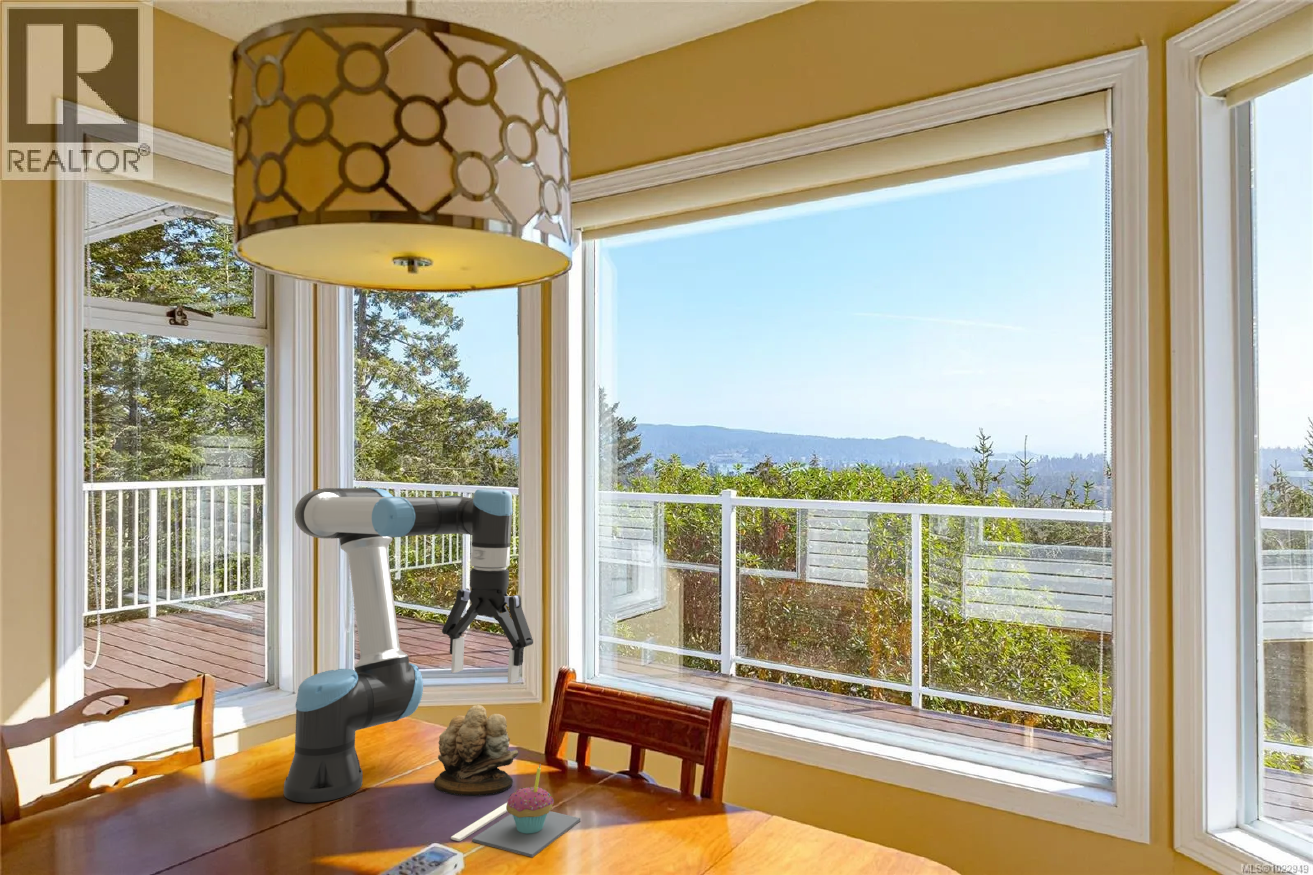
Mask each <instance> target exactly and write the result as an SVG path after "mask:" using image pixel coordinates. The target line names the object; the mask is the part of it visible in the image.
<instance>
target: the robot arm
mask: <svg viewBox="0 0 1313 875" xmlns="http://www.w3.org/2000/svg"><path fill="white" fill-rule="evenodd" d="M513 512H514V510H513V494H512V492H511V491H510V490H508V489H507V490H506V489H494V488H492V489H491V488H490V489H489V488H488V489H487V488H484V489H483V488H479V489H477V490H475V491H474V496H473V497H466V496H461V495H447V496H393V494H392V493H390V492H389V491H388V490H386V489H384V488H373V487H363V488H361V487H358V488H357V487H356V488H355V487H354V488H353V487H349V488H345V487H344V488H343V487H342V488H340V487H339V488H338V487H337V488H336V487H324V488H319V489H315V490H312V491H309V492H308V493H306V494H305V495H303V496H302V497H301V498H300V500H299V501H298V502H297V504H296V506H295V509H294V520H295V523H296V525H297V527H298V528H299V529H300V531H302V532H303V533H304V534H306V535H308V536H311V537H312V538H317V539H339V546H340V547H339V548H340V549H341V550H342V551H344V552H345V553H347V554H348V564H349V570H350V571H349V572H350V580H351V586H352V587H351V588H352V596H353V604H354V611H355V622H356V630H357V637H358V646H359V647H358V648H359V654H360V657H359V660H358V661H357V662H356V664H355V665H354V669H351V668H338V669H330V670H325V671H321V672H318V673H315V674H313V675H311V676H309V677H307V678H306V679H304V680H303V681H302V682H301V683H300V685H299V686H298V688H297V695H296V696H297V697H296V701H295V709H296V710H295V732H294V733H295V737H294V740H295V742H294V754H293V758H292V761H291V764H290V767H289V771H288V774H287V776H286V778H285V780H284V783H283V796H284V798H286V799H288V800H289V801H293V802H298V803H321V802H327V801H332V800H333V801H334V800H336V799H340V798H344V797H347V796H349V795H351V794H353V793H355V792H357V791H358V790H359V789H361V787H362V785H363V777H364V776H363V770H362V768H361V764H360V760H359V757H358V754H357V750H356V732H357V731H359V730H364V729H367V728H370V727H375V726H379V725H382V724H387V723H394V722H397V721H399V720H401V719H404V718H407V717H410V716H412V715H413V714H414V713H415V712H416V710H417V709H418V707H419V704H420V703H421V700H422V698H423V693H424V679H423V676H422V672H421V670H419V667H418V666H417V665H416V664H414V663H410V658H409V655H408V654H407V653H406V652H404V651H403V650H402V649H401V647H400V646H401V645H400V637H399V636H400V635H399V630H398V623H397V615H396V606H395V600H394V599H395V598H394V592H393V584H392V577H391V570H390V569H391V568H390V563H389V555H388V554H389V553H388V547H389V545H390V544H391V543H392V541H393V538H401V537H412V536H413V537H414V536H415V537H416V536H433V535H452V534H453V535H457V534H458V535H461V534H462V535H470V536H471V555H470V566H472V567H473V568H471V569H470V570H469V571H470V572H469V573H470V574H469V587H470V589H469V588H467V587H466V588H462V589H458V590H457V592H456V598H455V602H454V604H453V606H452V608H451V610H450V612H449V615H448V616H447V619H446V621H445V622H444V625H443V626H442V629H441V632H442V634H443V635H446V636H448V637H449V653H450V655H451V668H450V669H451V671H450V673H453V674H456V673H458V672H462V671H464V657H465V642H466V641H465V637H463V636H464V632H466V630H467V629H468V628H469V626H471V624H472V623H473V621H475V619H476V618H477V617H478V616H485V617H488V618H493V619H494V620H496V621H497V622H498V624H499V626H500V627H501V630H502V631H503V633H504V634H505V636H506V638H507V639H508V642H509V643H510V645H511V648H509V649H508V666H507V684H508V685H512V684H515V683H517V682H519V681H520V670H521V667H520V666H521V665H522V666H523V662H524V651H525V647H529V646H532V645H533V644H534V638H533V637H532V634H531V630H530V628H529V625H528V622H527V619H526V617H525V613H524V611H523V607H522V597H521V595H520V594H517V595H511V596H509V595H508V593H507V592H508V588H509V585H510V584H509V583H510V582H509V580H510V570H509V569H508V567H510V562H511V541H512V540H511V539H512V538H511V537H512V526H513V525H512V524H513V523H512V522H513ZM469 600H470V603H471V604H470V606H469V607H468V608H467V609H466V607H467V604H468V603H469ZM507 607H508V608H507ZM465 609H466V610H465ZM465 611H466V612H465ZM464 612H465V613H464ZM463 613H464V614H463Z"/></svg>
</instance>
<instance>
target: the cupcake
mask: <svg viewBox="0 0 1313 875" xmlns="http://www.w3.org/2000/svg"><path fill="white" fill-rule="evenodd" d="M541 765H542V763H540V764H539V765H538V767H537V769H536V774H535V781H534V786H531V787H530V786H529V787H521V788H518V789H516V791H514V792H513V793H511V794H510V795H509V796H508V799H507V802H506V803H507V806H506V809H507V813H508V814H509V815H510V814H512V815H513V817H514V820H515V823H516V827H517V830H518V831H519V832H521V833H525V834H531V833H536V832H539V831H540V830H541V829H542V828H543V825H544V822H545V819H546V816H547V814H548V813H549V811H551V810H553V804H554V798H553V797H552V794H550V792H548V791H547V790H546V789H544V788H541V787H540V786H539V782H540V777H541V776H540V775H541V770H542V768H541Z"/></svg>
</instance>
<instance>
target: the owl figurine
mask: <svg viewBox="0 0 1313 875" xmlns="http://www.w3.org/2000/svg"><path fill="white" fill-rule="evenodd" d="M507 724H508V723H507V719H506V717H505V716H504V715H502V714H500V713H493V714H490V715H489V716H487V709H486V708H485V707H484V706H483V705H480V704H475V705H472V706H471V707H470V708H469V709H468V710H467V712H466V714H465V715H460V714H459V715H456V716H454V717H452V719H451V720H450V722H449V724H448V726H447V727H446V729H445V730H444V731H443V732H442V733H441V734H440V735H439V739H438V751H439V755H438V756H437V759H438V760H439V762H441V763H442V765H443V767H444V770H443V771H442V772H440V773H439V775H438V776H437V777H436V778H434V782H433V786H434V788H435V789H436V791H439V792H442V793H444V792H445V794H448V795H453V796H464V797H466V796H467V797H468V796H469V797H480V796H491V795H497V794H500V793H502V792H504V791H508V789H509V788H511V786H512V785H513V783H514V780H513V778H512V776H510V775H509V773H507V772H506V771H505V770H502V769H500V767H506V766H510V765H511V764H512V763H513V762H514V759H515V758H517V756H518V755H519V751H518V750H512V751H511V750H509V746H510V740H511V738H510V737H509V734H508V731H507V726H508V725H507Z"/></svg>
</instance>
